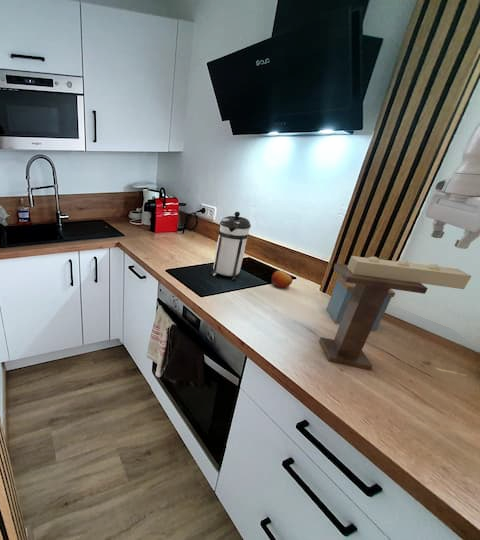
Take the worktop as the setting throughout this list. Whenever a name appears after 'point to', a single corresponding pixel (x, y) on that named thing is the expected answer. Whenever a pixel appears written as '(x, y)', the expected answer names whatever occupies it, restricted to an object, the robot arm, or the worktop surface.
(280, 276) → the fruit
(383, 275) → the egg box
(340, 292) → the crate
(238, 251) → the coffee press
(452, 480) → the worktop surface
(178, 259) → the worktop surface
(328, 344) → the wooden pedestal stand
